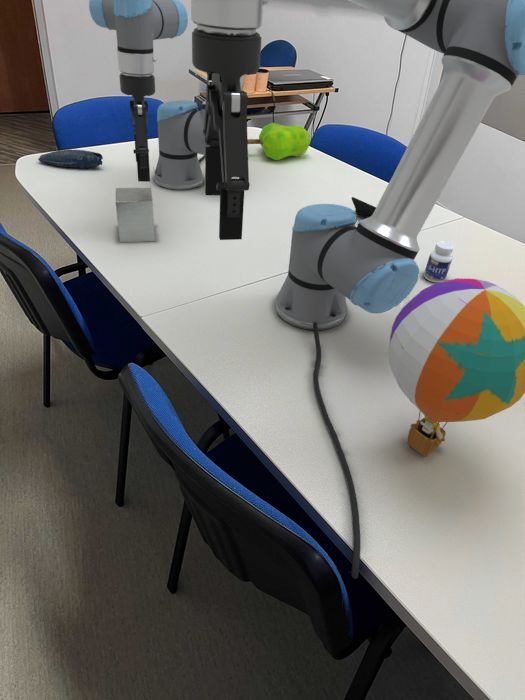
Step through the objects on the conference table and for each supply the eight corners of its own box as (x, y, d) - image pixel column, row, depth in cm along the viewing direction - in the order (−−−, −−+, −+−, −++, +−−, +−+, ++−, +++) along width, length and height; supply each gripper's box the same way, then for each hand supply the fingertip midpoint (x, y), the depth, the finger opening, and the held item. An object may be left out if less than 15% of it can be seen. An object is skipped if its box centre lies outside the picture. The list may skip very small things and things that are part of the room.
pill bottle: (422, 279, 126) (432, 247, 121) (424, 270, 130) (434, 238, 125) (444, 285, 125) (455, 252, 120) (446, 275, 129) (457, 243, 124)
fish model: (99, 172, 164) (97, 156, 161) (35, 165, 165) (32, 149, 162) (106, 165, 170) (105, 149, 167) (44, 159, 171) (41, 143, 168)
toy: (336, 437, 84) (375, 278, 66) (409, 388, 95) (460, 239, 76) (438, 521, 73) (519, 358, 55) (507, 455, 84) (595, 300, 65)
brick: (154, 241, 132) (152, 201, 125) (119, 242, 130) (115, 201, 124) (153, 226, 139) (150, 187, 132) (119, 227, 137) (115, 187, 130)
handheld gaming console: (400, 212, 153) (393, 191, 145) (389, 233, 152) (381, 212, 144) (365, 206, 159) (356, 185, 151) (355, 225, 158) (345, 205, 150)
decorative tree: (225, 119, 187) (305, 119, 192) (225, 149, 194) (302, 148, 199) (232, 134, 173) (318, 133, 179) (232, 165, 180) (315, 164, 185)
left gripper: (158, 87, 104) (162, 190, 117) (151, 63, 123) (155, 154, 136) (119, 85, 103) (128, 190, 116) (118, 61, 122) (125, 153, 135)
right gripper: (289, 52, 47) (270, 259, 60) (240, 14, 66) (234, 179, 79) (207, 48, 45) (205, 262, 59) (181, 11, 64) (184, 179, 78)
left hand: (142, 170), depth 126 cm, fingers open, 13 cm apart
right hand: (222, 215), depth 69 cm, fingers open, 13 cm apart
